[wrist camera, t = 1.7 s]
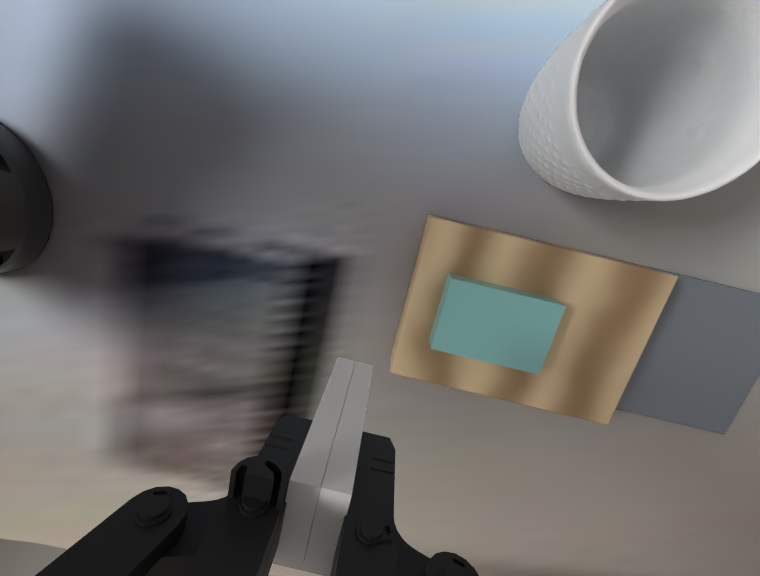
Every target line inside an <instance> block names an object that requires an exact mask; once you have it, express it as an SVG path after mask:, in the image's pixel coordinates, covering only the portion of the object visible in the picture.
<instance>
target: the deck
mask: <svg viewBox="0 0 760 576" xmlns="http://www.w3.org/2000/svg"><path fill="white" fill-rule="evenodd" d="M448 273H451V274H455V275H460V276H464V277H468V278H472V279H476V280H480V281H485V282H489V283H493V284H497V285H501V286H505V287H510V288H514V289H518V290H522V291H526V292H530V293H535V294H539V295H543V296H547V297H551V298H555V299H557V300H558V301H560V302H561V303H563V304H564V305H565V306H566V308H565V311H564V313H563V316H562V318H561V321H560V323H559V326H558V328H557V331H556V333H555V336H554V338H553V341H552V343H551V346H550V348H549V351H548V354H547V356H546V359H545V361H544V364H543V366H542V369H541V371H540V374H539V375H538V374H534V373H530V372H526V371H522V370H518V369H513V368H509V367H505V366H501V365H497V364H493V363H488V362H484V361H480V360H476V359H472V358H467V357H463V356H459V355H455V354H451V353H447V352H442V351H438V350H434V349H431V347H430V342H429V337H430V334H431V330H432V327H433V323H434V320H435V317H436V313H437V310H438V306H439V303H440V299H441V296H442V293H443V289H444V286H445V282H446V279H447V275H448ZM677 278H678V276H675V275H672V274H669V273H665V272H662V271H659V270H655V269H652V268H649V267H646V266H642V265H638V264H633V263H629V262H625V261H621V260H617V259H613V258H608V257H604V256H600V255H596V254H592V253H588V252H584V251H579V250H575V249H571V248H567V247H563V246H559V245H554V244H550V243H546V242H542V241H538V240H534V239H529V238H525V237H521V236H517V235H513V234H509V233H505V232H500V231H496V230H492V229H488V228H484V227H480V226H475V225H471V224H467V223H463V222H459V221H455V220H450V219H446V218H442V217H438V216H434V215H430V214H428V215H427V219H426V223H425V227H424V231H423V234H422V238H421V242H420V246H419V250H418V253H417V257H416V261H415V265H414V269H413V272H412V276H411V280H410V284H409V288H408V291H407V295H406V299H405V303H404V307H403V310H402V314H401V318H400V322H399V325H398V329H397V333H396V337H395V341H394V344H393V348H392V352H391V364H390V373H394V374H398V375H402V376H406V377H410V378H414V379H419V380H423V381H427V382H431V383H435V384H440V385H444V386H448V387H452V388H456V389H461V390H465V391H469V392H473V393H477V394H481V395H486V396H490V397H494V398H498V399H502V400H507V401H511V402H515V403H519V404H523V405H527V406H532V407H536V408H540V409H544V410H548V411H553V412H557V413H561V414H565V415H569V416H573V417H578V418H582V419H586V420H590V421H594V422H599V423H603V424H607V425H608V423H609V421H610V419H611V417H612V415H613V412H614V410H615V408H616V406H617V404H618V402H619V400H620V398H621V396H622V394H623V391H624V389H625V387H626V385H627V383H628V381H629V379H630V377H631V375H632V373H633V371H634V368H635V366H636V364H637V362H638V360H639V358H640V356H641V354H642V352H643V350H644V347H645V345H646V343H647V341H648V339H649V337H650V335H651V333H652V331H653V329H654V326H655V324H656V322H657V320H658V318H659V316H660V314H661V312H662V310H663V308H664V306H665V303H666V301H667V299H668V297H669V295H670V293H671V291H672V289H673V287H674V285H675V282H676V280H677Z"/></svg>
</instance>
